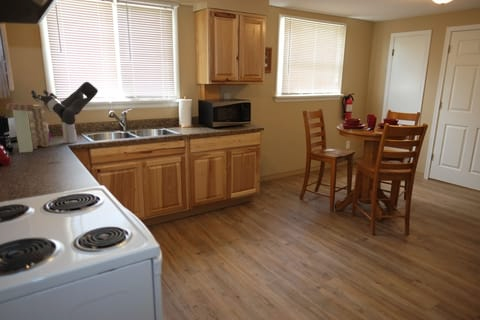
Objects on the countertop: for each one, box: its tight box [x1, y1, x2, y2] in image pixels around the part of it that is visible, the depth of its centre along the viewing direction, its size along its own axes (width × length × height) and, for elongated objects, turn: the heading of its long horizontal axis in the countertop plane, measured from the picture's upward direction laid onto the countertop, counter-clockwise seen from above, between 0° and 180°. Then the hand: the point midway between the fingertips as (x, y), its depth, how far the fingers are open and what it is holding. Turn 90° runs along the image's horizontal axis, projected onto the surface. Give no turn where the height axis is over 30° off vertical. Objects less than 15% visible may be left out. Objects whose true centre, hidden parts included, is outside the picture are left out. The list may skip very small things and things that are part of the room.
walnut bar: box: [5, 103, 34, 111], centre depth 229 cm, size 25×4×4 cm, turn 65°
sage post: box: [12, 110, 34, 154], centre depth 233 cm, size 8×8×30 cm
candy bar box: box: [46, 121, 51, 142], centre depth 271 cm, size 11×5×16 cm, turn 146°
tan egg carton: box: [27, 104, 50, 150], centre depth 250 cm, size 16×12×32 cm
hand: (38, 91), depth 223 cm, fingers open, 8 cm apart
